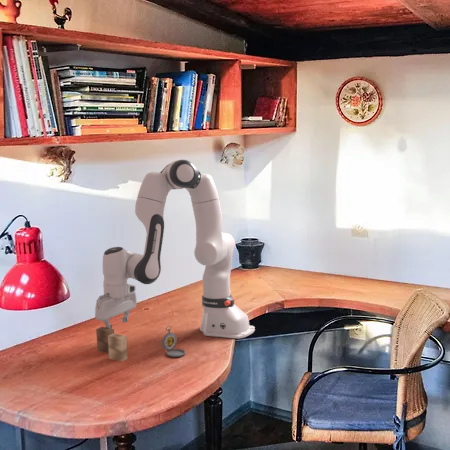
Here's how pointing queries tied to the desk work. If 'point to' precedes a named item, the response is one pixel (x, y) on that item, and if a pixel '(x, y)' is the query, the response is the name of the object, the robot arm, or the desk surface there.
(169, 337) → the pocket watch
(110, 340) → the wooden letter t block
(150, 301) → the desk surface
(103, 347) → the wooden letter h block
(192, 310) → the desk surface
